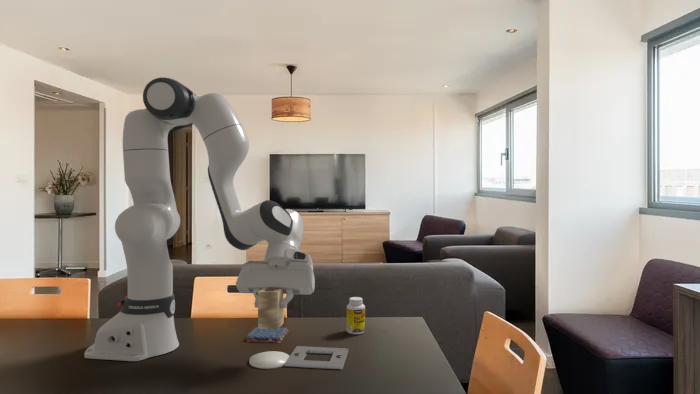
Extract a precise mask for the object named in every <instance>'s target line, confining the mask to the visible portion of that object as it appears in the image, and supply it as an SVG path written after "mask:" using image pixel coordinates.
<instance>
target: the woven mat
mask: <svg viewBox="0 0 700 394" xmlns="http://www.w3.org/2000/svg"><path fill="white" fill-rule="evenodd" d="M288 333H290V332H289V330H288V327H285V326H282V327H280V328H279V329H258V325H257V326H256V327H254V329H252V330H251V331H250V332H249V333H248V334H247V336H246V342H250V343H251V342H255V343H275V344H276V343H282V341H283V340H284V339H285V337H286V335H288Z"/></svg>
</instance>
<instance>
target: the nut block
mask: <svg viewBox="0 0 700 394" xmlns="http://www.w3.org/2000/svg"><path fill="white" fill-rule="evenodd" d="M281 299H284V294H283V288H263V289H261V290H260V291H258V308H257V326H258V329H279V328H281V327H282V326H283V324H284V320H285V319H284V308H280V300H281Z"/></svg>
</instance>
